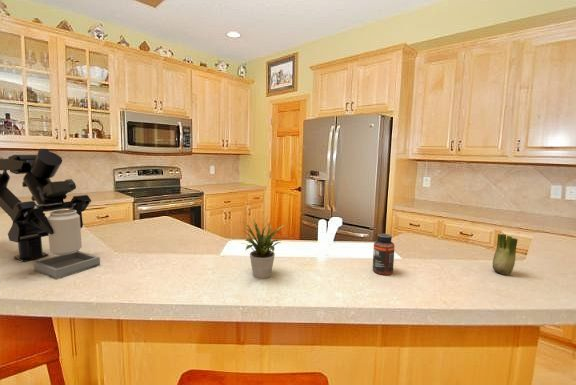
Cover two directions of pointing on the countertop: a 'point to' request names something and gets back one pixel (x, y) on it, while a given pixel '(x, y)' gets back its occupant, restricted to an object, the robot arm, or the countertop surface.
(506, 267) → the fennel bulb
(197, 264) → the countertop surface
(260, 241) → the house plant
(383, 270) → the supplement bottle
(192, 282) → the countertop surface
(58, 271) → the tray
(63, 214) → the can
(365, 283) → the countertop surface
